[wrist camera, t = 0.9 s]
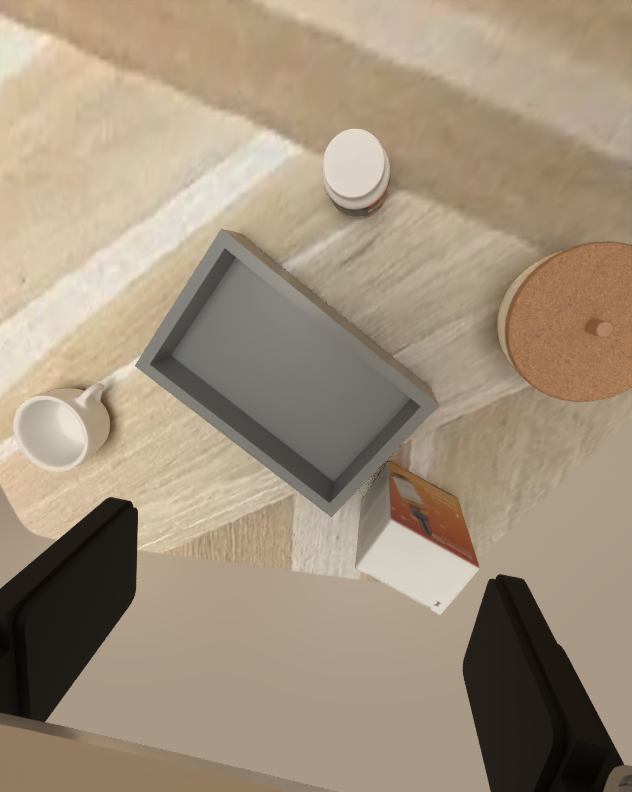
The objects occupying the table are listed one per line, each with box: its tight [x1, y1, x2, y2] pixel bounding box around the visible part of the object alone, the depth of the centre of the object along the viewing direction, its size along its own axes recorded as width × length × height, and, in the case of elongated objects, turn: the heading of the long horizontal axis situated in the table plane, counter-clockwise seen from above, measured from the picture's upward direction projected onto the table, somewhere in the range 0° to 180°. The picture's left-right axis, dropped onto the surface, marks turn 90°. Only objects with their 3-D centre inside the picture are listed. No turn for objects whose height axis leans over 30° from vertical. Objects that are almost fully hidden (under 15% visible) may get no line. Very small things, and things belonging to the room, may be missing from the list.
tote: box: [135, 229, 439, 517], centre depth 38 cm, size 14×22×5 cm, turn 52°
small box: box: [355, 461, 480, 615], centre depth 37 cm, size 8×6×10 cm
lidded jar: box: [497, 242, 632, 402], centre depth 31 cm, size 11×11×9 cm
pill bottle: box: [322, 129, 390, 219], centre depth 31 cm, size 5×5×8 cm
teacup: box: [13, 383, 110, 472], centre depth 42 cm, size 10×8×5 cm
